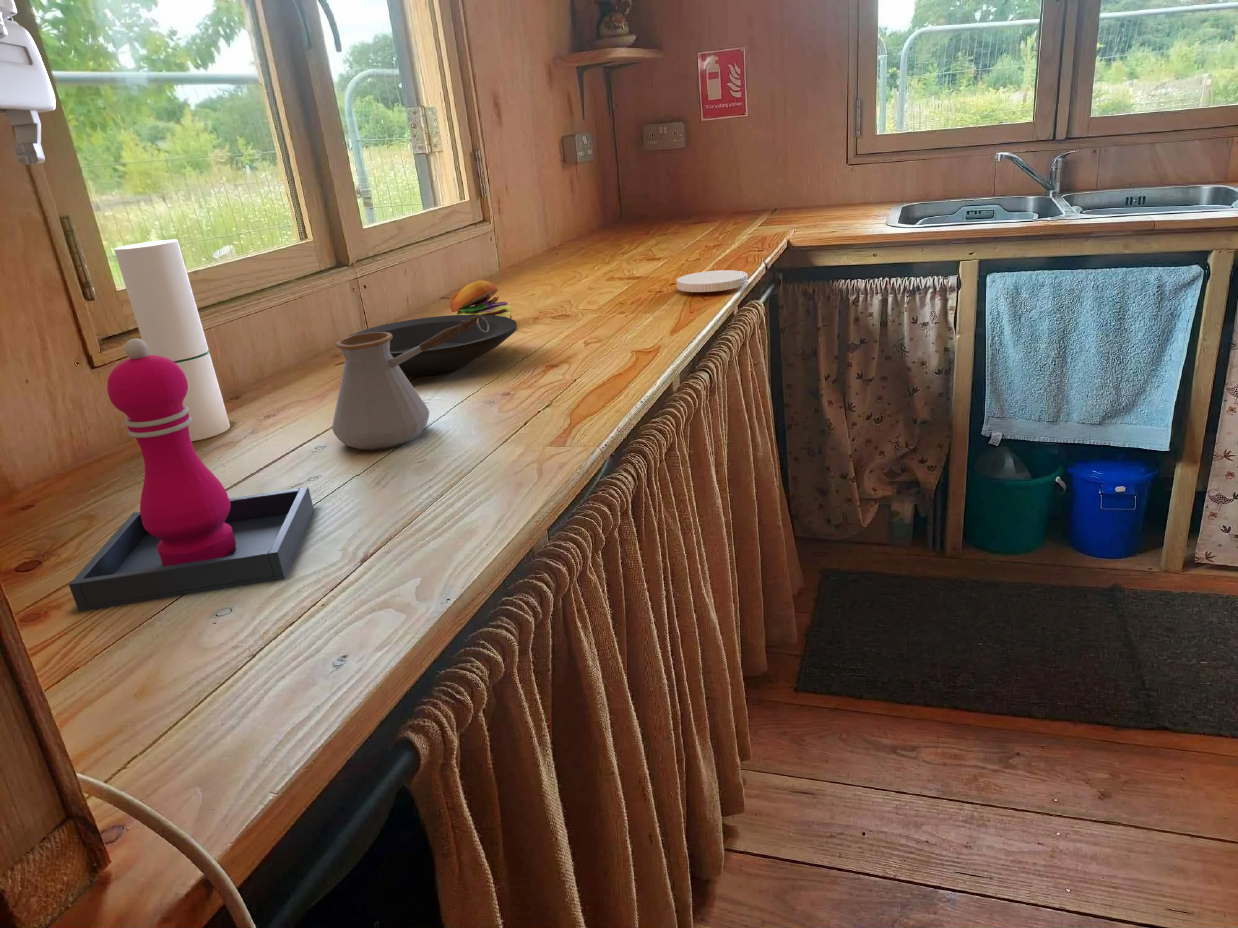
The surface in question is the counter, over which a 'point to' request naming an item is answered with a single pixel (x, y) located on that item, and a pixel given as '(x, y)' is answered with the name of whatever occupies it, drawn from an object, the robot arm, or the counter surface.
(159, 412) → the pepper mill
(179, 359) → the cylindrical container
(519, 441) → the counter surface
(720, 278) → the plastic lid
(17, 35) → the robot arm
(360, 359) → the coffee pot
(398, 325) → the black bowl
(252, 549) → the tray
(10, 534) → the counter surface
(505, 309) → the cheeseburger
